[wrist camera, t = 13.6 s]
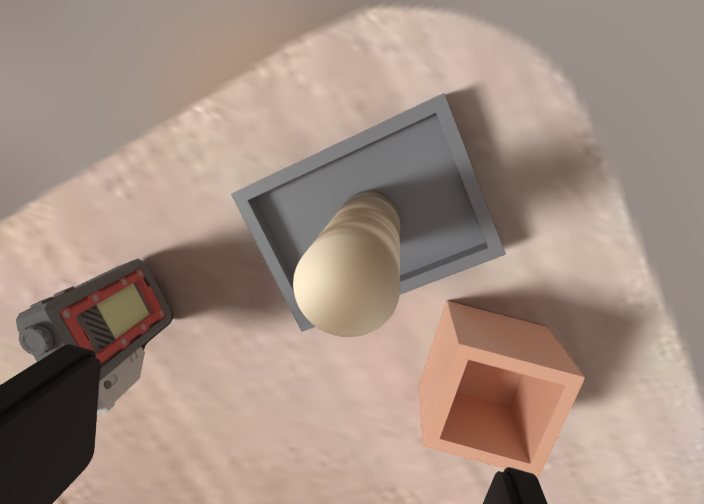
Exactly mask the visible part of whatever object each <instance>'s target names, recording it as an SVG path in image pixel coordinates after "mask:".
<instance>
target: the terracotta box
mask: <svg viewBox="0 0 704 504" xmlns="http://www.w3.org/2000/svg"><path fill="white" fill-rule="evenodd" d="M584 379H585V376H584V375H583V374H582V372H581V371H580V370H579V368H578V367H577V366H576V364H575V363H574V362H573V360H572V359H571V358H570V356H569V355H568V354H567V352H566V351H565V350H564V348H563V347H562V346H561V344H560V343H559V342H558V340H557V339H556V338H555V336H554V335H553V334H552V332H551V331H550V330H549V328H548V327H546V326H542V325H538V324H534V323H530V322H527V321H523V320H519V319H515V318H511V317H508V316H504V315H500V314H496V313H492V312H489V311H485V310H481V309H477V308H474V307H470V306H466V305H462V304H458V303H455V302H451V301H447V302H446V305H445V308H444V311H443V314H442V317H441V320H440V323H439V326H438V329H437V332H436V335H435V338H434V341H433V344H432V347H431V350H430V353H429V356H428V359H427V362H426V365H425V368H424V371H423V374H422V377H421V380H420V383H419V399H420V413H421V427H422V441H423V446H425V447H429V448H432V449H436V450H439V451H443V452H447V453H450V454H454V455H457V456H461V457H465V458H468V459H472V460H475V461H479V462H483V463H486V464H490V465H493V466H497V467H501V468H504V469H506V468H507V467H511V468H515V469H519V470H522V471H526V472H529V473H533V474H534V475H536V477H537V478H539V477H540V474H541V472H542V470H543V468H544V466H545V464H546V461H547V459H548V457H549V455H550V453H551V451H552V448H553V446H554V444H555V442H556V440H557V438H558V435H559V433H560V431H561V429H562V427H563V425H564V422H565V420H566V418H567V416H568V414H569V412H570V409H571V407H572V405H573V403H574V401H575V399H576V396H577V394H578V392H579V390H580V388H581V386H582V383H583V381H584Z"/></svg>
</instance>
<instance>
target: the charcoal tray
mask: <svg viewBox="0 0 704 504" xmlns="http://www.w3.org/2000/svg"><path fill="white" fill-rule="evenodd" d="M362 191H377V192H380V193H383V194H385V195H386V196H388V197H389V198H390V199H391V200H392V201H393V202H394V203H395V205H396V207H397V209H398V211H399V215H400V292H399V295H400V294H403V293H405V292H408V291H411V290H413V289H416V288H419V287H421V286H424V285H426V284H429V283H432V282H434V281H437V280H440V279H442V278H445V277H448V276H450V275H453V274H455V273H458V272H461V271H463V270H466V269H469V268H471V267H474V266H477V265H479V264H482V263H484V262H487V261H490V260H492V259H495V258H498V257H500V256H503V255H506V254H505V251H504V248H503V246H502V243H501V241H500V238H499V235H498V233H497V230H496V227H495V225H494V222H493V220H492V217H491V214H490V212H489V209H488V207H487V204H486V201H485V199H484V196H483V193H482V191H481V188H480V186H479V183H478V180H477V178H476V175H475V173H474V170H473V167H472V165H471V162H470V159H469V157H468V154H467V152H466V149H465V146H464V144H463V141H462V139H461V136H460V133H459V131H458V128H457V125H456V123H455V120H454V118H453V115H452V112H451V110H450V107H449V105H448V102H447V99H446V97H445V94H444V93H443V94H441V95H439V96H437V97H435V98H432V99H430V100H428V101H426V102H424V103H422V104H420V105H418V106H416V107H413V108H411V109H409V110H407V111H405V112H403V113H401V114H399V115H397V116H394V117H392V118H390V119H388V120H386V121H384V122H382V123H380V124H378V125H375V126H373V127H371V128H369V129H367V130H365V131H363V132H361V133H359V134H356V135H354V136H352V137H350V138H348V139H346V140H344V141H342V142H340V143H337V144H335V145H333V146H331V147H329V148H327V149H325V150H323V151H321V152H318V153H316V154H314V155H312V156H310V157H308V158H306V159H304V160H302V161H299V162H297V163H295V164H293V165H291V166H289V167H287V168H285V169H283V170H280V171H278V172H276V173H274V174H272V175H270V176H268V177H266V178H264V179H261V180H259V181H257V182H255V183H253V184H251V185H249V186H247V187H245V188H242V189H240V190H238V191H236V192H234V193H232V194H231V195H232V197H233V199H234V201H235V203H236V205H237V207H238V209H239V211H240V213H241V215H242V217H243V219H244V221H245V222H246V224H247V226H248V228H249V230H250V232H251V234H252V236H253V238H254V240H255V242H256V244H257V246H258V248H259V250H260V252H261V254H262V256H263V258H264V259H265V261H266V263H267V265H268V267H269V269H270V271H271V273H272V275H273V277H274V279H275V281H276V283H277V285H278V287H279V289H280V291H281V293H282V294H283V296H284V298H285V300H286V302H287V304H288V306H289V308H290V310H291V312H292V314H293V316H294V318H295V320H296V322H297V324H298V326H299V328H300V330H301V331H305V330H308V329H310V328H313V327H316V326H315V325H313V324H312V323H311V322H310V321H309V320H308V319H307V318H306V317H305V316H304V314H303V313H302V311H301V310H300V308H299V306H298V304H297V302H296V299H295V295H294V289H293V280H294V274H295V270H296V267H297V265H298V263H299V261H300V259H301V258H302V256H303V255H304V254H305V252H306V251H307V250H308V249H309V247H310V246H311V245H312V244H313V242H314V241H315V240H316V239H317V237H318V236H319V235H320V234H321V232H322V231H323V230H324V229H325V227H326V226H327V225H328V224H329V222H330V221H331V220H332V219H333V217H334V216H335V215H336V214H337V212H338V211H339V210H340V209H341V207H342V206H343V205H344V204H345V202H346V201H347V200H348V199H349V198H350V197H351V196H353V195H354V194H356V193H359V192H362Z"/></svg>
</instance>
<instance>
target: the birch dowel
mask: <svg viewBox="0 0 704 504" xmlns="http://www.w3.org/2000/svg"><path fill="white" fill-rule="evenodd" d="M293 289H294V295H295V299H296V302H297V304H298V306H299V308H300V310H301V311H302V313H303V314H304V316H305V317H306V318H307V319H308V320H309V321H310V322H311V323H312V324H313V325H315V326H316V327H317V328H319V329H321V330H322V331H325V332H327V333H329V334H332V335H336V336H341V337H356V336H362V335H365V334H368V333H370V332H373V331H374V330H376V329H378V328H379V327H381V326H382V325H383V324H384V323H385V322H386V321H387V320H388V319H389V318H390V317H391V315H392V314H393V312H394V310H395V308H396V306H397V303H398V299H399V292H400V215H399V211H398V209H397V207H396V205H395V203H394V202H393V201H392V200H391V199H390V198H389V197H388V196H386V195H385V194H383V193H380V192H377V191H362V192H359V193H356V194H354V195H353V196H351V197H350V198H349V199H348V200H347V201H346V202H345V204H344V205H343V206H342V207H341V209H340V210H339V211H338V212H337V214H336V215H335V216H334V217H333V219H332V220H331V221H330V222H329V224H328V225H327V226H326V227H325V229H324V230H323V231H322V232H321V234H320V235H319V236H318V237H317V239H316V240H315V241H314V242H313V244H312V245H311V246H310V247H309V249H308V250H307V251H306V252H305V254H304V255H303V256H302V258H301V259H300V261H299V263H298V265H297V267H296V270H295V274H294V280H293Z"/></svg>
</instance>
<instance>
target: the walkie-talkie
mask: <svg viewBox="0 0 704 504" xmlns="http://www.w3.org/2000/svg"><path fill="white" fill-rule="evenodd" d="M30 307H31V308H30V309H28V310H26V311H24V312H22V313H19V315H18V317H17V319H16V323H17V328H18V331H19V342H20V345H21V346H22V348H23V349H24V350H25V351H26V352H28V353H29V354H32V355H33V356H34V357H35V359H36V361H37V362H38V361H40V360H41V359H43V358H44V357H46V356H48V355H49V354H51V353H52V352H54V351H56V350H57V349H59V348H60V347H62V346H64V345H66V344H72V345H76V346H79V347H83V348H86V349H90V350H93V351H94V352H95V354H96V358H97V359H99V360H100V362H101V369H100V382H99V395H98V408H97V415H100V414H103V413H106V412H108V411H109V410H110V409H111V408H112V407H113V406H114V404H115V401H116V400H118V399H119V398H120V397H121V396H122V395H123V394H124V393H125V392H126V391H127V390H128V389H129V388H130V387H131V386H132V385H133V384H134V383H135V382H136V381H137V380H138V379H139V378H140V374H141V369H142V364H143V359H144V355H145V354H144V353H145V352H144V348H145V345H146V344H147V343H148V342H149V341H150V340H151V339H152V338H154V337H155V336H156V335H157V334H158V333H160V332H161V331H162V330H163V329H164V328H166V327H167V326H168V325H169V324H170V323H171V321H172V319H173V316H172V313H171V310H170V308H169V306H168V304H167V302H166V300H165V298H164V296H163V294H162V292H161V290H160V288H159V286H158V285H157V283H156V281H155V279H154V277H153V275H152V273H151V271H150V269H149V267H148V265H147V264H146V263H145V262H143V261H141V260H140V259H136V260H133V261H131V262H128V263H125V264H123V265H120V266H118V267H116V268H113V269H112V270H109V271H108V272H105V273H103V274H101V275H99V276H97V277H95V278H93V279H90V280H89V281H86V282H85V283H82V284H81V285H78V286H76V287H74V286H73V287H70V288H68V289H65V290H63V291H61V292H58V293H56V294H54V296H53V297H50V298H47V299H44V300H42V301H39V302H37V303H35V304H33V305H31V306H30Z"/></svg>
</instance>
